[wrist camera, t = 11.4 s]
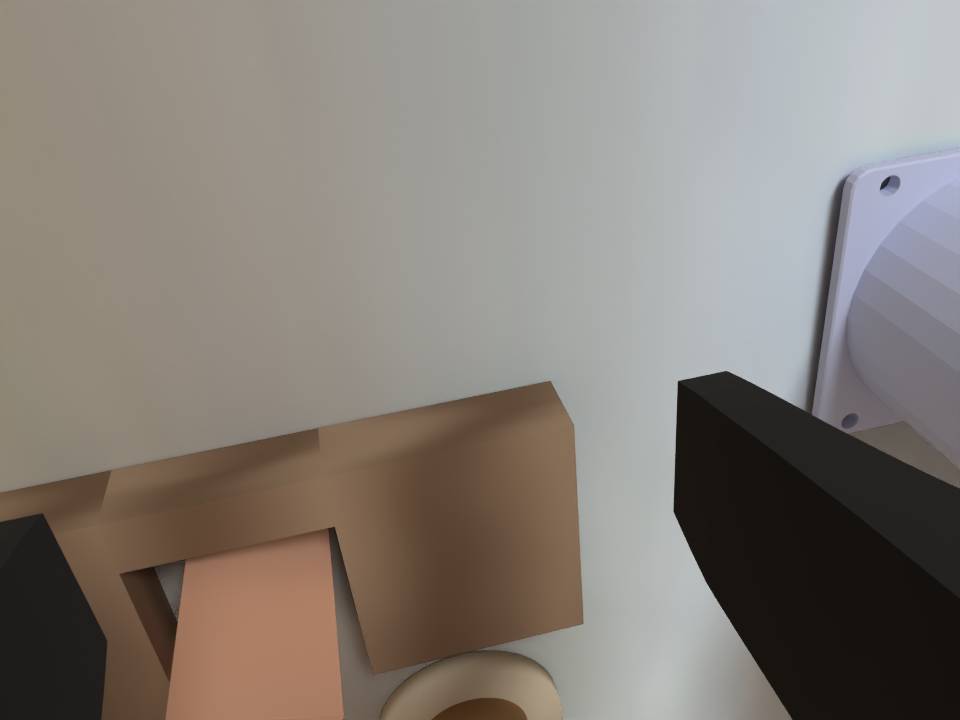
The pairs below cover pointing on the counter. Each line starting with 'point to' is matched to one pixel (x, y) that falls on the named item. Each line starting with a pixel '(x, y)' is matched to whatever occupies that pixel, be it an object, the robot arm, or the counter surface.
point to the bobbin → (477, 690)
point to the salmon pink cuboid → (258, 634)
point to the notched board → (342, 530)
